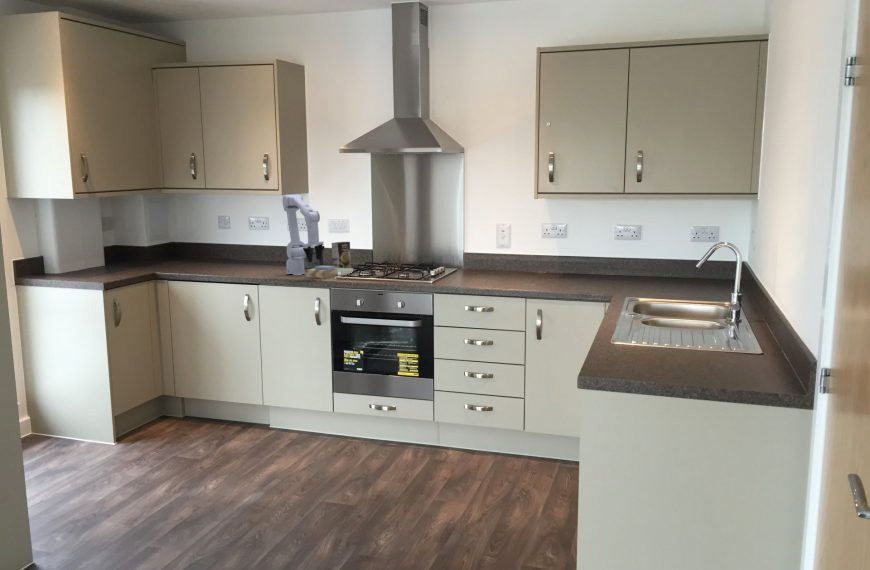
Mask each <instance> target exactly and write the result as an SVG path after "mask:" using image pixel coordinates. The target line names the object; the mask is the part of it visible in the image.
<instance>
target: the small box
mask: <svg viewBox="0 0 870 570" xmlns="http://www.w3.org/2000/svg"><path fill="white" fill-rule="evenodd" d="M316 266H325V265H324V251H323V252H322V256H321V260H318V259H317V257H316V251H315V250H313V254H312V261H308V259H307V256H306V257H305V258H304V270H308V269H313V268H314V267H316Z"/></svg>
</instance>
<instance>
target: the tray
mask: <svg viewBox="0 0 870 570" xmlns="http://www.w3.org/2000/svg"><path fill="white" fill-rule="evenodd" d="M337 270H338V276H339V277H340V276H341V277H343V276H347V274H348V275H351V274H350V273H352V272H353V271H354V272H355V268H352V267H351V268H337ZM352 274H353V273H352ZM338 276H337V277H338Z"/></svg>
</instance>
